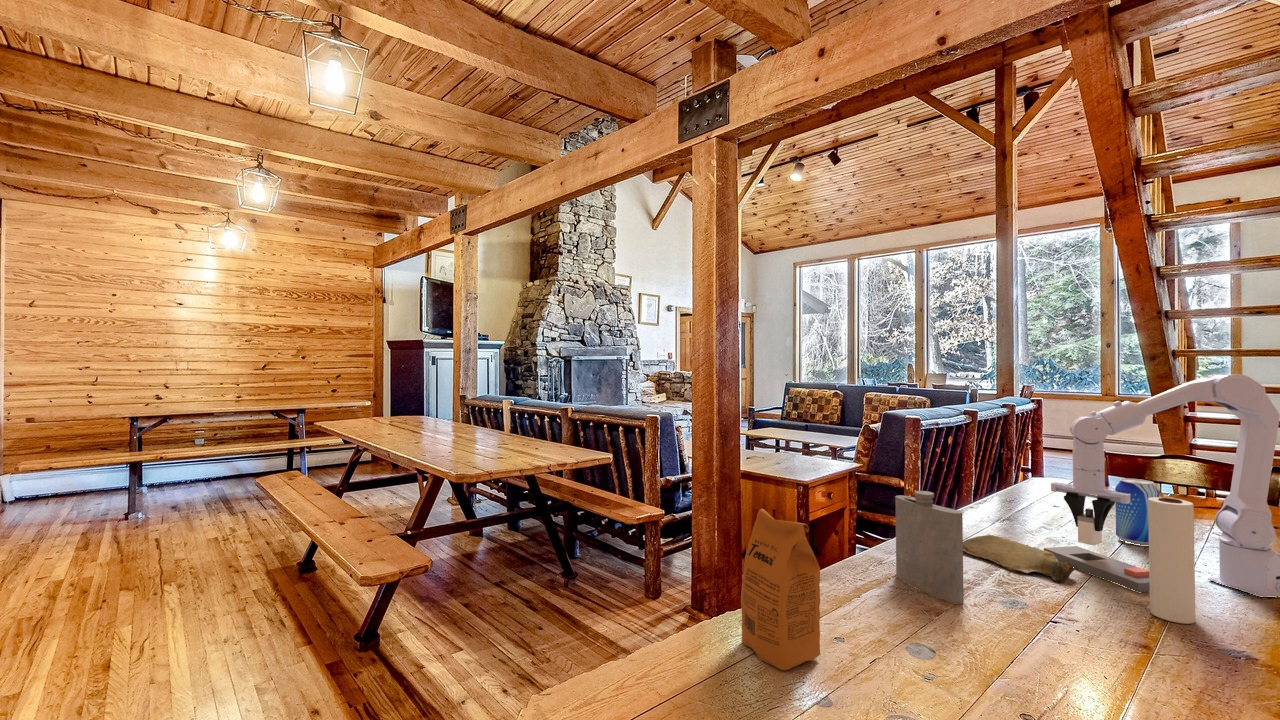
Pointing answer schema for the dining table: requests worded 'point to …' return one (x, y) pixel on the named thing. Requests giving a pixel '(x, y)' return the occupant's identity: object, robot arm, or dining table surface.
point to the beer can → (1134, 510)
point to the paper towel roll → (1171, 559)
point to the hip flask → (929, 546)
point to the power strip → (1104, 567)
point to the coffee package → (781, 594)
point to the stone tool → (1017, 556)
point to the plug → (1088, 529)
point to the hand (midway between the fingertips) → (1089, 528)
